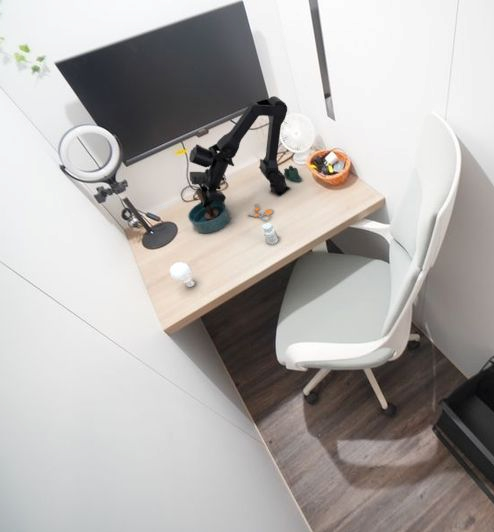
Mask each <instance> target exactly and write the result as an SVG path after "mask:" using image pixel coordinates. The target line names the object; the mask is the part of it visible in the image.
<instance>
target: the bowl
mask: <svg viewBox="0 0 494 532" xmlns="http://www.w3.org/2000/svg"><path fill="white" fill-rule="evenodd" d="M210 206H211V208H212V209H216V210H218V211H219V213H220V215H219V216H217V217H216V218H215V219H212V220H210V221H207V220H206V218H205V213H206V212H207V211H206V209H205V208H204V207H203V204H201V202H199V203H197V204H195V205H194V206H193V207H192V208H191V209H190V211H189V213H188V220H189V222H190V223H191V225H192V226H193V228H194V229H195V231H197V232H198V233H201V234H211V233H216V232H217V231H220V230H222V229H224V228H225V227H226V226H227V225H228V224H229V222H230V220H231V213H230V210H229V209H228V206H227V205H226V203H225V201H224V202H220V201H216V200H215V201H213V202H212V203H211V204H210Z"/></svg>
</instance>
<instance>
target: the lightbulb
mask: <svg viewBox="0 0 494 532" xmlns="http://www.w3.org/2000/svg"><path fill="white" fill-rule="evenodd" d="M169 274H170V276H171V277H172V278H173V279H174V280H175V281H178V282H182V283H184V284H185V285H186V287H188V288H191V287H193V286H194V285H195V284H196V282H195V280H194V279H193V277H192V268H191V266H190V265H189V264H188V263H187V262H184V261H177V262H175V263H173V264H172V265H171V266H170V268H169Z"/></svg>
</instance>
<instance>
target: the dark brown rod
mask: <svg viewBox="0 0 494 532" xmlns="http://www.w3.org/2000/svg"><path fill="white" fill-rule="evenodd" d="M195 193H196V195H197V197H198V198H199V201H200V203H201V202H202V204H203V202H204V198H205V195H204V193H203V191H202V190H201V188H200V187H199V188H196V190H195ZM205 209H206V211H207V212H206V213H205V218H206V220H207V221H210V220H212V219H215V218H216V217H217V216H219V215H220V213H219V211H218V210H216V209H212V208H211V206H210V204H209V205H208V206H207V207H206V208H205Z"/></svg>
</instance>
